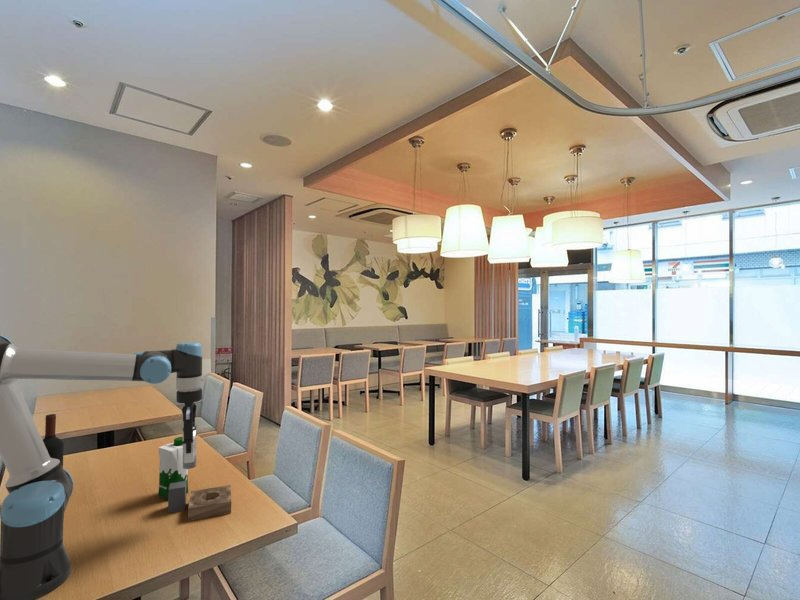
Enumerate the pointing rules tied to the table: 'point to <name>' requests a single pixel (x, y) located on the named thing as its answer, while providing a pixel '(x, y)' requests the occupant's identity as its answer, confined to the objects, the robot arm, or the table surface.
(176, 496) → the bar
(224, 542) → the table surface
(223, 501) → the socket block
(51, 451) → the wine bottle
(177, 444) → the milk carton
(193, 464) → the rod
